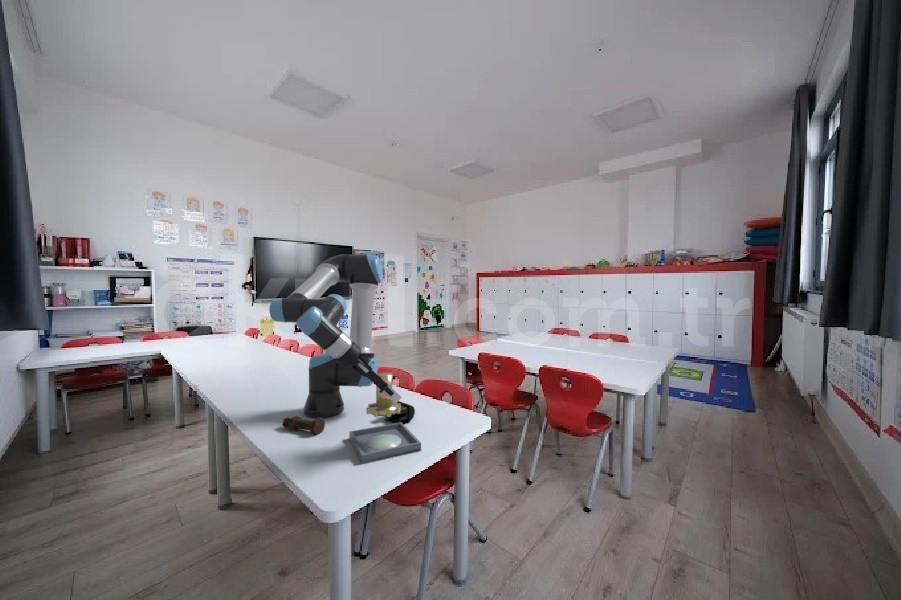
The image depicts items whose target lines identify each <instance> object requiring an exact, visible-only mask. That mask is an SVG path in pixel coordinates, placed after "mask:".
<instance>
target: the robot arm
mask: <svg viewBox="0 0 901 600" xmlns="http://www.w3.org/2000/svg"><path fill="white" fill-rule="evenodd" d="M383 279H384V271H383V265H382V262H381V259H380V257H379V256H378V255H375V254H346V253H345V254H344V253H343V254H337V255H335V256H332V257H329V258H328V259H326V260H324V261H322V262H321V263H319V265H317V267H316V269H315V272H314V273H313V274H312V275H311V276H309V277H308V278H307V279H306V280H305V281H304V282H302V284H300V285H299V286H298V287H297V288H295V290H294V291H293V292H292V293H291V294H290V295H288V296H287V297H286V298H284V297H280V298H274V299H272V301H271V302H270V305H269V309H268V310H269V312H268V313H269V316H270V318H271V320H273V321H274V322H277V323H278V322H279V323H285V324H286V323H295V324H296V326H297V328H298V329H299V330H300V331H301V332H302V333H303V334H304V335H305V336H306V337H308V338H309V339H311V341H313V342H314V343H315V344H316V345H317V346H319V347H320V348H321V349H322V351H324V352H325V353H320V354H317V355H313V356H311V357H310V359H309V363H308V394H307V398H306V401H305V403H304V407H303V415H304V416H305V417H308V418H314V419H317V418H319V417H320V418H322V419H323V418H328V417H334V416H336V415H339V414H342V412H343V411H344V410H345V403H344V401H343V399H344V398H343V397H342V394H341V391H340V390H341V389H340V388H341V387H359V388H363V387H371V386H372V385H375V386H377V387H378V388H380V391H379V392H380V393H381V392H383V393H384V394H385V395H386V396H388V397H389V398H390V399H391V400H392V401H393V402H394V403H395V404H396V403H397V402H398V401H400V400H401V399H402V398H403V397H402V396H401V395H400V394H399V393H398V392H397V391H396V390H395V389H393V387H392V388H391V387H390V386H389V385H388V384H387V383H386V382H384V381H383V380H382V379H381V378H380V377H379V376H378V375H377V374H378V371H379V370H378V369H379V358H378V357H376V356H375V351H374V350H373V349H372V335H373V333H372V331H373V320H374V319H373V318H374V299H375V291H376V290H377V289H378V288H379V284H381V283H383ZM337 283H349V287H350V288H351V290H352V299H351V315H350V316H351V317H350V331H349V335H348V334H347V333H345V332H344V331H343V330H342V329H340V327H338V324H339V322H341V319H342V318H343V317H344V315H345V313H346V310H347V308H348V304H347V301H346V300H345V298H344V297H343V296H341V295H339V294H336V293H332V294H331V293H330V294H329V295H327V296H326V297H324V298H321V297H322V296H323V294H325V293H326V291H327V290H328V289H329V288H330V287H332V286H335V285H336V284H337Z"/></svg>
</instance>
